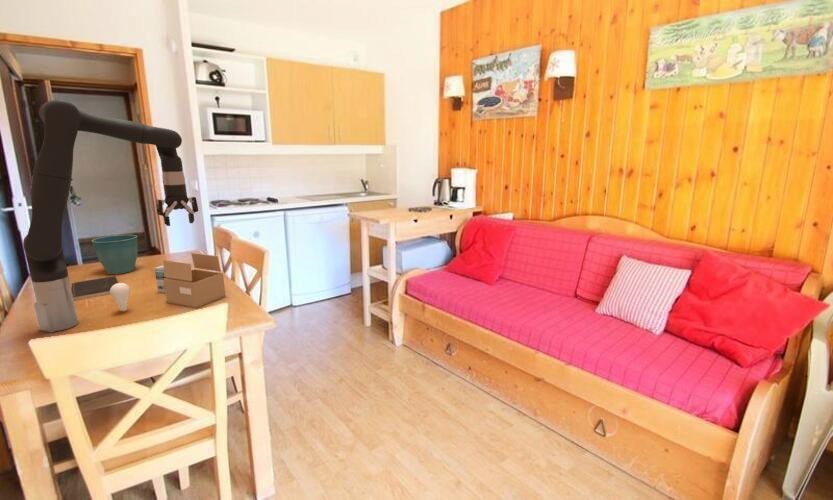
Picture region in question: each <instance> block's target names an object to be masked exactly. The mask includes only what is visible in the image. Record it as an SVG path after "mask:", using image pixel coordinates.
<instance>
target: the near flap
mask: <svg viewBox="0 0 833 500" xmlns="http://www.w3.org/2000/svg"><path fill="white" fill-rule="evenodd" d="M162 263H163V265H164V277H168V278H175V279H181V280H187V281H192V272H191V270H192V263H188V262H182V261H181V262H179V261H173V260H166V259H165V260H164V259H163V260H162Z"/></svg>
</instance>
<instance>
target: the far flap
mask: <svg viewBox="0 0 833 500" xmlns="http://www.w3.org/2000/svg"><path fill="white" fill-rule="evenodd" d="M191 258H192V263H193V266H194V269H198V270H205V271H212V272H222V270H221V264H220V259H219V256H218V255H213V254H211V255H210V254H205V253H196V252H191Z"/></svg>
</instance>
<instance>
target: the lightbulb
mask: <svg viewBox="0 0 833 500" xmlns="http://www.w3.org/2000/svg"><path fill="white" fill-rule="evenodd" d="M130 294H131V287H130V286H129V285H128V284H126V283H123V282H118V283H117V284H115V285H113V286H112V287H111V289H110V294H109V295H110V296H111V297H112V298H113V300H115V302H116V305H117V306H118V308H119V309H118V310H119V311H120V312H126V311H127V310H128V301H129V300H128V298H129V296H130Z"/></svg>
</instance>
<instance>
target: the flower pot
mask: <svg viewBox="0 0 833 500" xmlns="http://www.w3.org/2000/svg"><path fill="white" fill-rule="evenodd" d="M91 243H92V245H93V248H94V251H95V254H96V257H97V259H98V261H99V262H100V264H101V265H102V267H103V268H104V271H105V273H106V274H107V275H119V274H120V275H121V274H127V273H130V272H133V271H136V264H137V263H136V262H137V258H138V253H139V252H138V235H135V234H119V235H115V234H114V235H109V236H108V235H107V236H103V237H102V236H101V237H98V238H94V239H92V240H91Z"/></svg>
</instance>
